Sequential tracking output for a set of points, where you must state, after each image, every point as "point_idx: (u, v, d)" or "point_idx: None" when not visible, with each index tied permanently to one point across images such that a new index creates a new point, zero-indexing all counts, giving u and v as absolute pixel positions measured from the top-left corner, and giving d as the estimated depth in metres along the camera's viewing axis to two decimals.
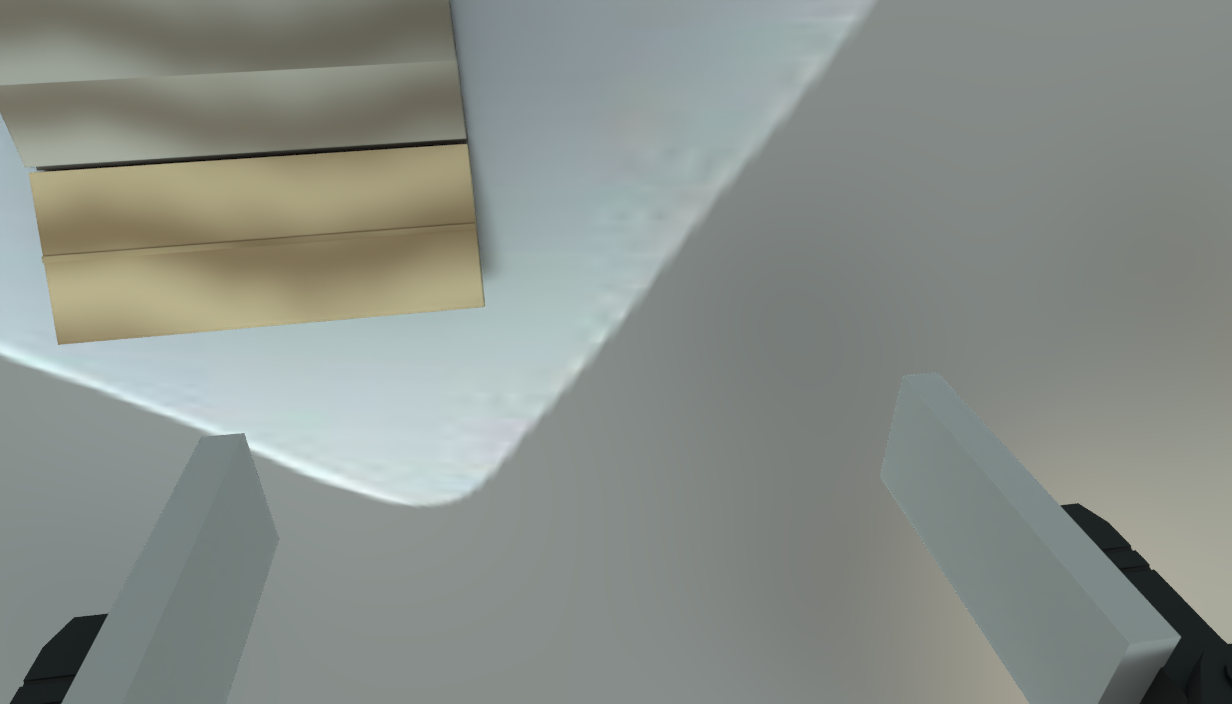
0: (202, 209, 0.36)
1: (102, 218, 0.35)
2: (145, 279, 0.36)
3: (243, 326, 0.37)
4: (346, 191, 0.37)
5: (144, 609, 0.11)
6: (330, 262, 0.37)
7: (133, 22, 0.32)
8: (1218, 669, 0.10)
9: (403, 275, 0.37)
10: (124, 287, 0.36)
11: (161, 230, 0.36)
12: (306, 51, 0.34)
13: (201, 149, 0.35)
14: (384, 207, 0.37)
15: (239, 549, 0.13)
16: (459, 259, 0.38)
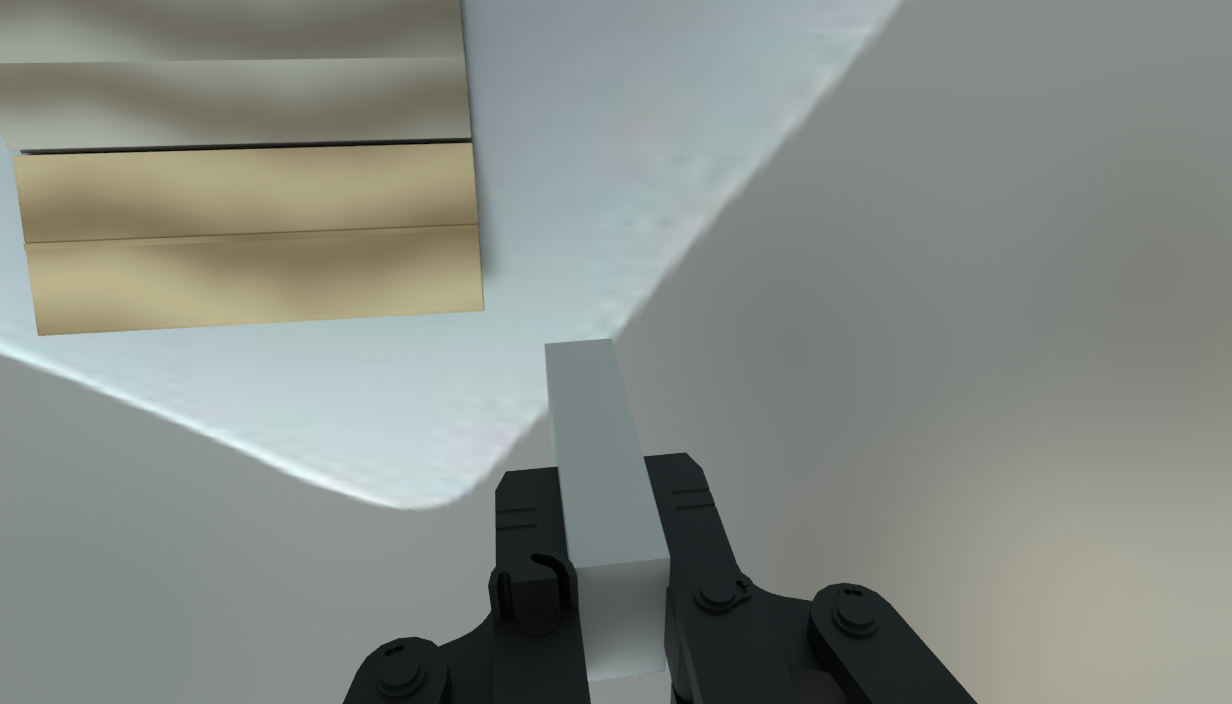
0: (195, 200, 0.35)
1: (89, 205, 0.34)
2: (132, 270, 0.35)
3: (233, 323, 0.35)
4: (346, 187, 0.35)
5: (584, 457, 0.13)
6: (326, 260, 0.36)
7: (129, 3, 0.31)
8: (690, 599, 0.11)
9: (401, 275, 0.36)
10: (109, 278, 0.34)
11: (150, 220, 0.34)
12: (309, 41, 0.33)
13: (195, 138, 0.34)
14: (384, 205, 0.36)
15: None
16: (460, 261, 0.36)
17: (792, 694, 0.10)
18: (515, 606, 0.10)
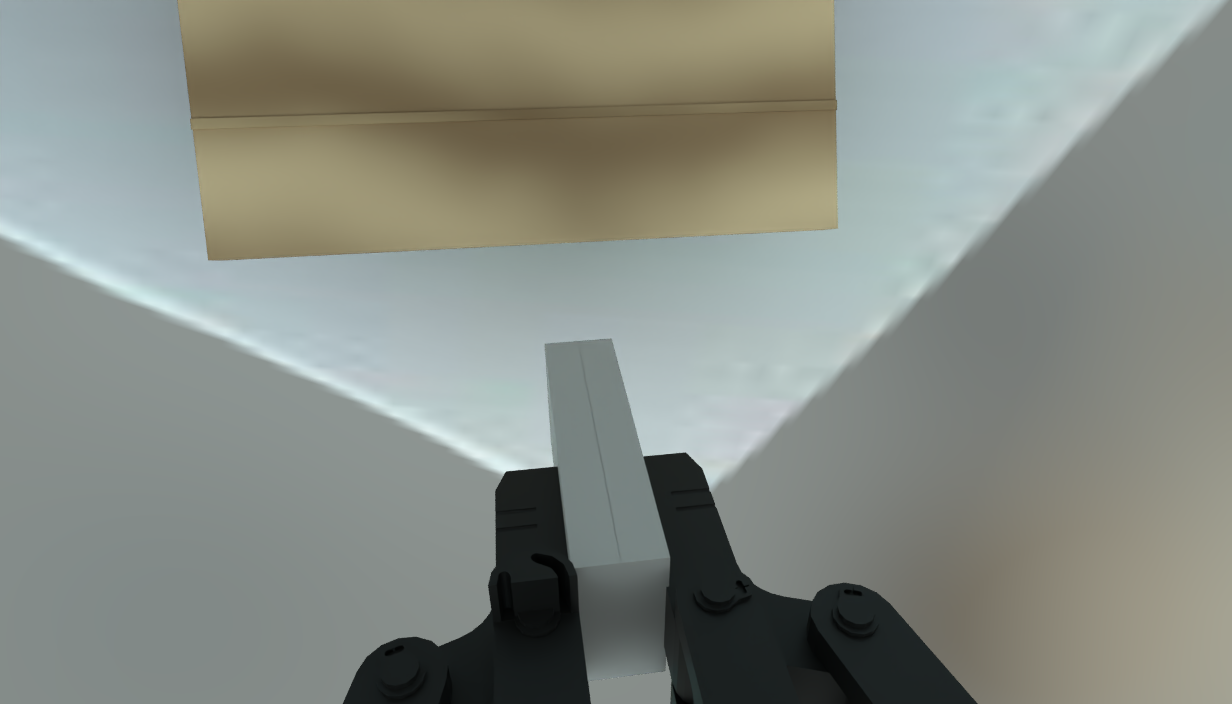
0: (439, 57, 0.23)
1: (287, 62, 0.23)
2: (347, 162, 0.23)
3: (489, 243, 0.24)
4: (655, 41, 0.24)
5: (585, 457, 0.13)
6: (623, 150, 0.24)
7: None
8: (689, 599, 0.11)
9: (727, 175, 0.25)
10: (314, 174, 0.23)
11: (375, 87, 0.23)
12: None
13: None
14: (707, 69, 0.24)
15: None
16: (809, 154, 0.25)
17: (792, 694, 0.10)
18: (515, 606, 0.10)
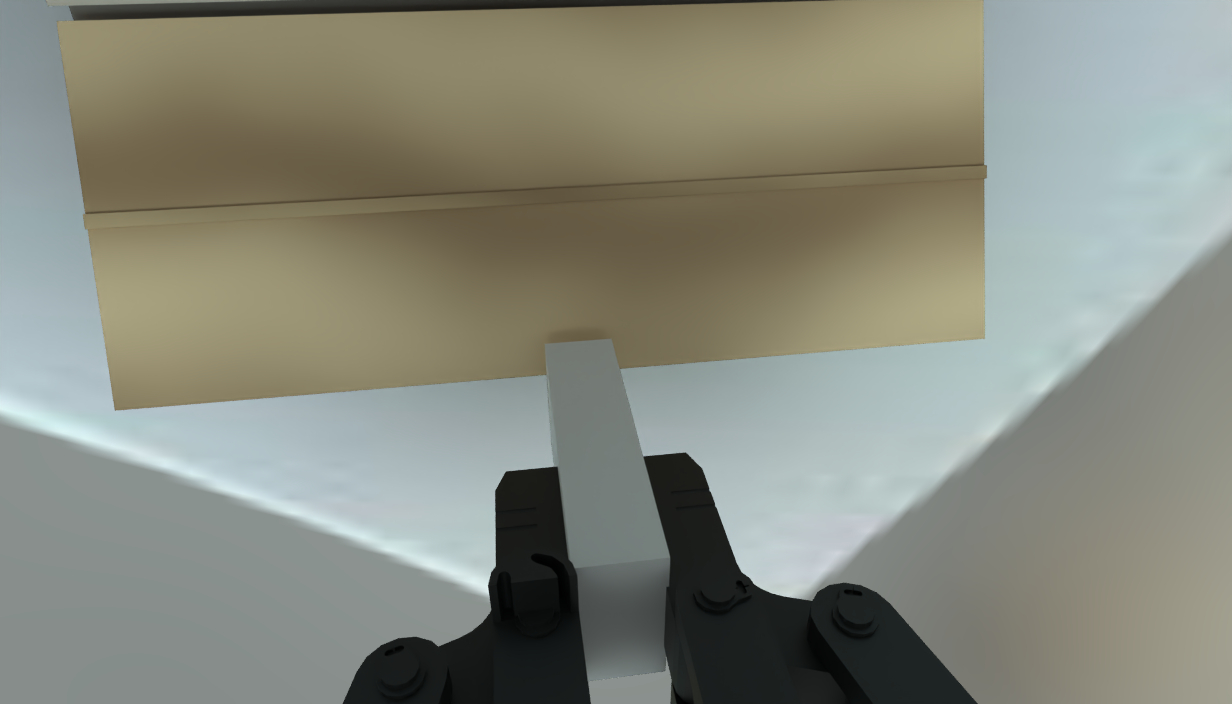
0: (438, 119, 0.16)
1: (221, 130, 0.16)
2: (309, 268, 0.16)
3: (509, 373, 0.17)
4: (738, 90, 0.17)
5: (584, 457, 0.13)
6: (694, 241, 0.17)
7: None
8: (689, 599, 0.11)
9: (836, 271, 0.18)
10: (262, 286, 0.16)
11: (347, 162, 0.16)
12: None
13: None
14: (811, 126, 0.17)
15: None
16: (947, 240, 0.18)
17: (792, 694, 0.10)
18: (515, 606, 0.10)
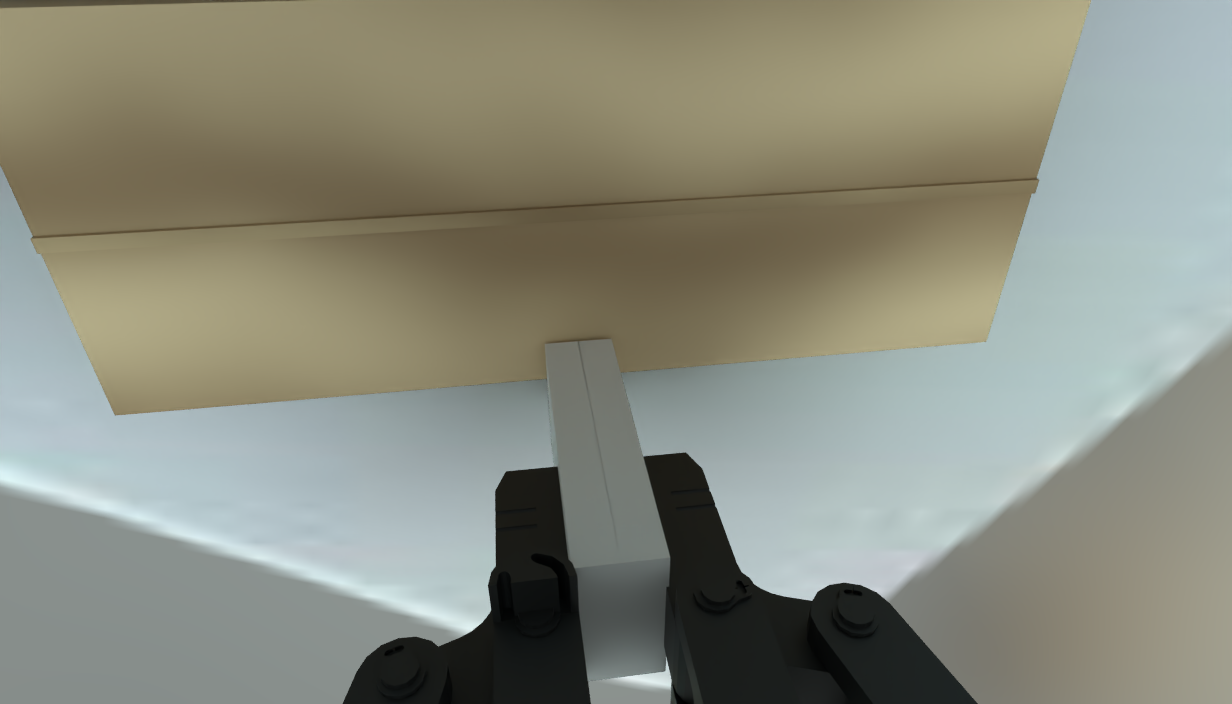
0: (426, 130, 0.14)
1: (170, 144, 0.13)
2: (295, 287, 0.15)
3: (510, 377, 0.17)
4: (780, 96, 0.15)
5: (585, 457, 0.13)
6: (709, 256, 0.16)
7: None
8: (690, 599, 0.11)
9: (853, 283, 0.17)
10: (247, 305, 0.15)
11: (324, 179, 0.14)
12: None
13: None
14: (856, 137, 0.15)
15: None
16: (975, 253, 0.17)
17: (792, 694, 0.10)
18: (515, 606, 0.10)
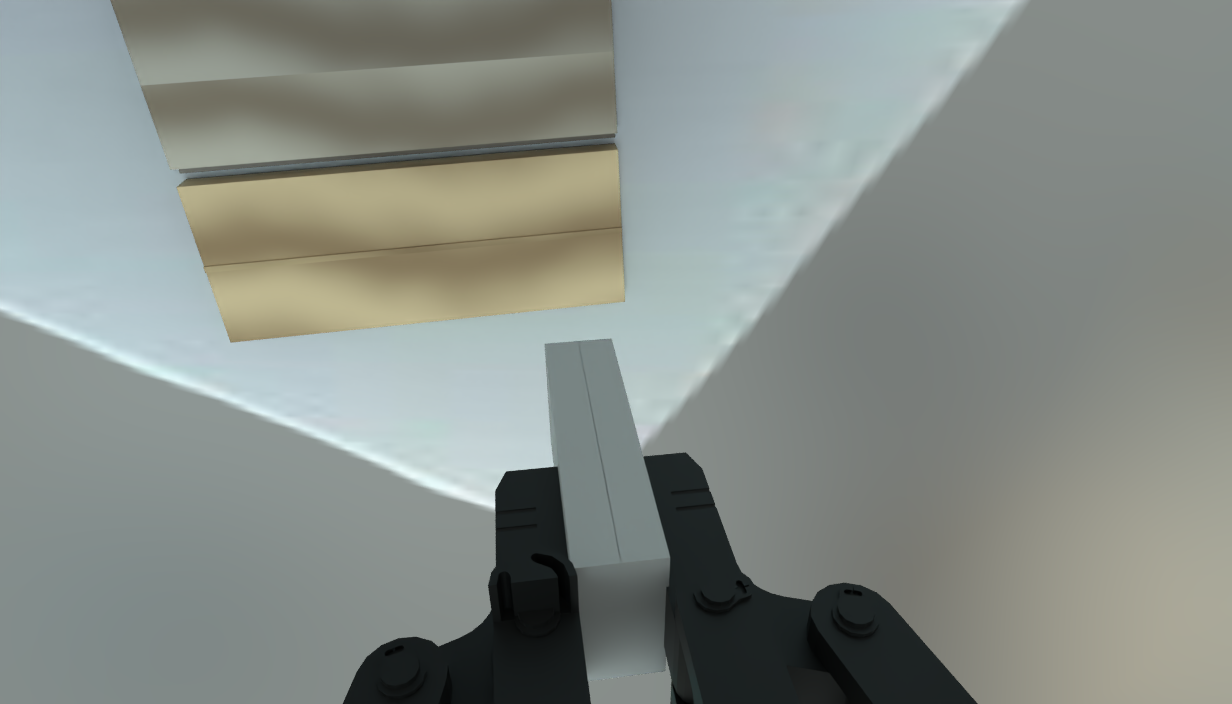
0: (355, 219, 0.36)
1: (257, 229, 0.35)
2: (305, 284, 0.37)
3: (401, 322, 0.39)
4: (496, 199, 0.36)
5: (584, 457, 0.13)
6: (481, 265, 0.38)
7: (291, 16, 0.31)
8: (689, 599, 0.11)
9: (550, 275, 0.38)
10: (286, 291, 0.37)
11: (316, 239, 0.36)
12: (463, 44, 0.33)
13: (349, 148, 0.34)
14: (533, 213, 0.37)
15: None
16: (604, 260, 0.38)
17: (792, 694, 0.10)
18: (515, 606, 0.10)
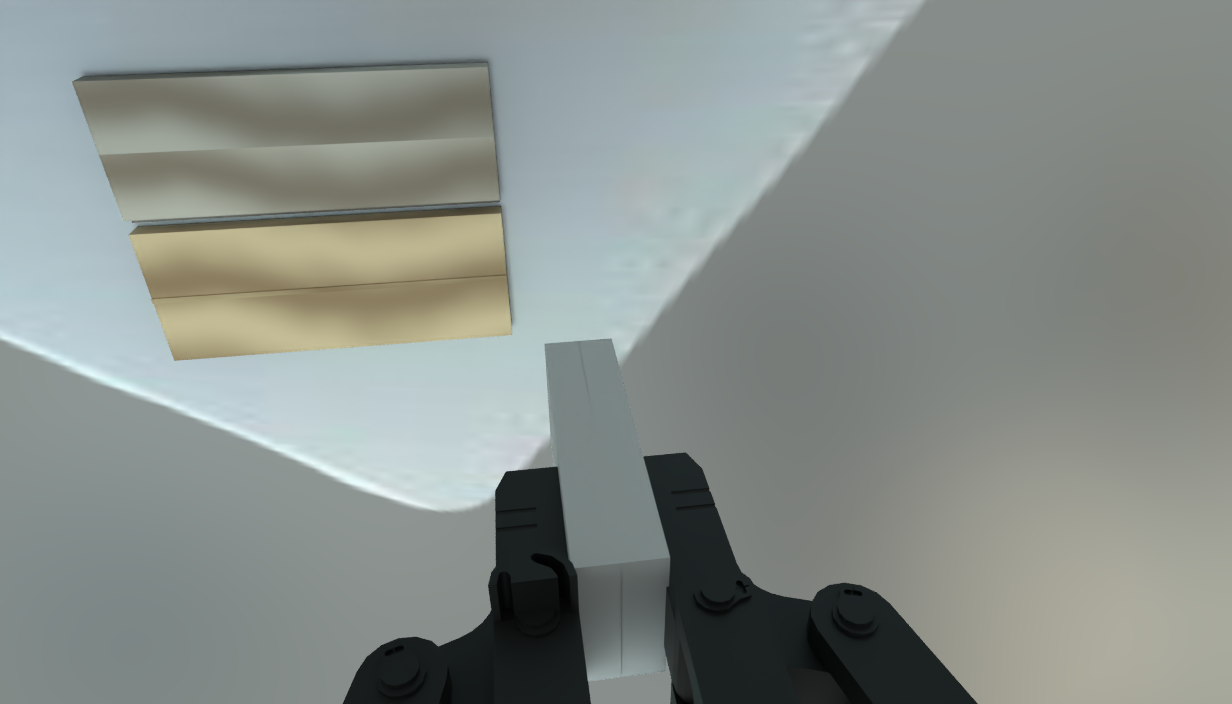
0: (279, 263, 0.43)
1: (197, 269, 0.42)
2: (238, 314, 0.44)
3: (320, 347, 0.46)
4: (399, 250, 0.44)
5: (584, 457, 0.13)
6: (388, 303, 0.45)
7: (224, 104, 0.38)
8: (689, 599, 0.11)
9: (447, 312, 0.46)
10: (221, 320, 0.44)
11: (247, 279, 0.43)
12: (368, 128, 0.40)
13: (274, 207, 0.41)
14: (431, 262, 0.44)
15: None
16: (493, 301, 0.46)
17: (792, 694, 0.10)
18: (515, 606, 0.10)
